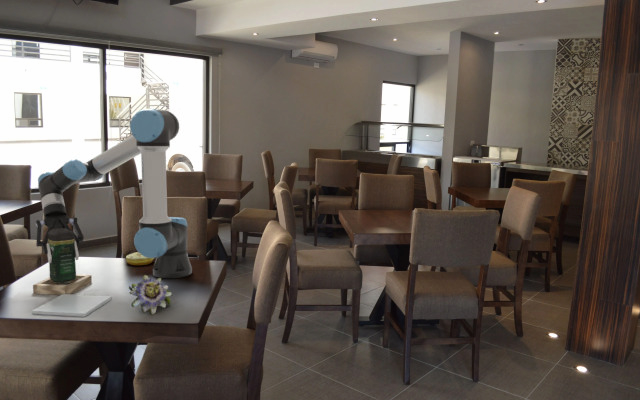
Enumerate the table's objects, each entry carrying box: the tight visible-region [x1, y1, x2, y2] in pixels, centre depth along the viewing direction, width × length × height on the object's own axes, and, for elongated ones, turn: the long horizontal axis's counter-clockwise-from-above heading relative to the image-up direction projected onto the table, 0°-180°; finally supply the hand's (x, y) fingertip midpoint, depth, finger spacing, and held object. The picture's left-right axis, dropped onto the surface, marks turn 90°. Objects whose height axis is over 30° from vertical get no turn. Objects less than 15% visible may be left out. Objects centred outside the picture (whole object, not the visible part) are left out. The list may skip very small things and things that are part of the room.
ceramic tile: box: [31, 293, 112, 318], centre depth 168 cm, size 17×17×1 cm
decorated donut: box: [125, 251, 154, 266], centre depth 225 cm, size 11×12×4 cm
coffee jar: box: [48, 228, 77, 282], centre depth 185 cm, size 10×8×19 cm
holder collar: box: [32, 273, 92, 296], centre depth 187 cm, size 13×15×3 cm
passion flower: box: [128, 274, 173, 315], centre depth 167 cm, size 13×12×14 cm
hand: (64, 259), depth 183 cm, fingers closed on coffee jar, 8 cm apart
